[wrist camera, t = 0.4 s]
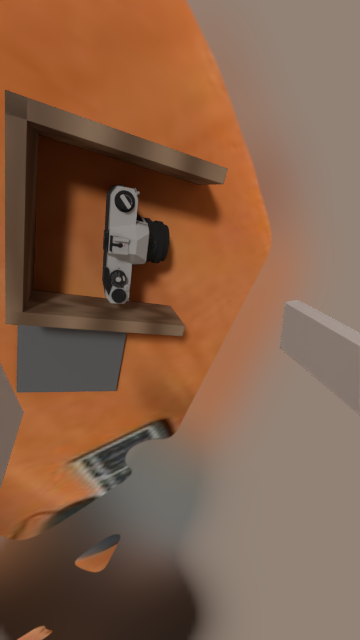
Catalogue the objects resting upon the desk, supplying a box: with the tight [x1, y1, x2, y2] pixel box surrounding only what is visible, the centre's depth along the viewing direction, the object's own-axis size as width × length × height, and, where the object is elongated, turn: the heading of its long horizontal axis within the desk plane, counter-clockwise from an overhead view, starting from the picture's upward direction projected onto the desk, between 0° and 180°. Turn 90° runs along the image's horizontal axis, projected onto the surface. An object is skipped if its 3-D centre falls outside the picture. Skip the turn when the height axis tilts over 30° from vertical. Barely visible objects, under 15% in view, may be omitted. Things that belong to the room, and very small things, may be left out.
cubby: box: [5, 90, 228, 336], centre depth 31 cm, size 20×20×7 cm
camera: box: [102, 185, 169, 304], centre depth 32 cm, size 13×8×9 cm, turn 173°
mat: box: [17, 325, 127, 392], centre depth 39 cm, size 14×12×1 cm
